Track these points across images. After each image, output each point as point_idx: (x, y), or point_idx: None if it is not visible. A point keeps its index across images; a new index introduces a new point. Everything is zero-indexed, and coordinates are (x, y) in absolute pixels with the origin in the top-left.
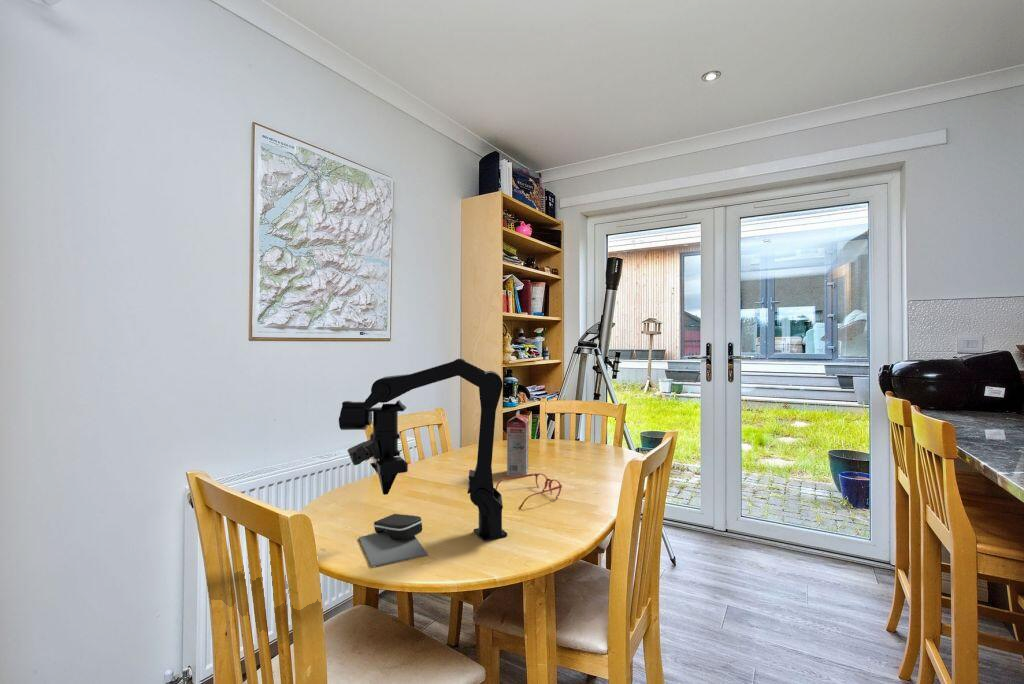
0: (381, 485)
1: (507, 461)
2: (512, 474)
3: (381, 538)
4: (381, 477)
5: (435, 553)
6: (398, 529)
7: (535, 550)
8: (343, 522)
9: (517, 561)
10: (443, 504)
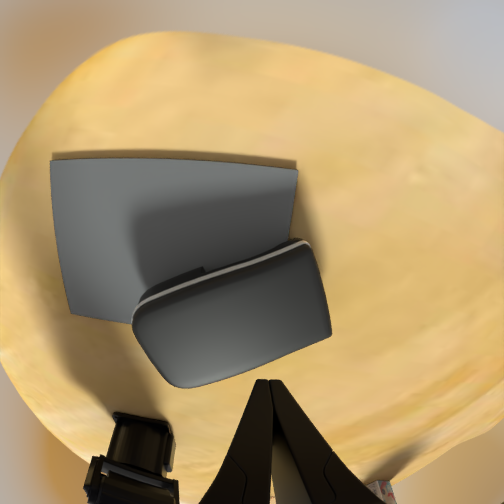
0: (282, 424)
1: (382, 498)
2: (370, 485)
3: (233, 240)
4: (201, 501)
5: (80, 328)
6: (140, 303)
7: (68, 426)
8: (455, 176)
9: (37, 396)
10: (360, 419)
